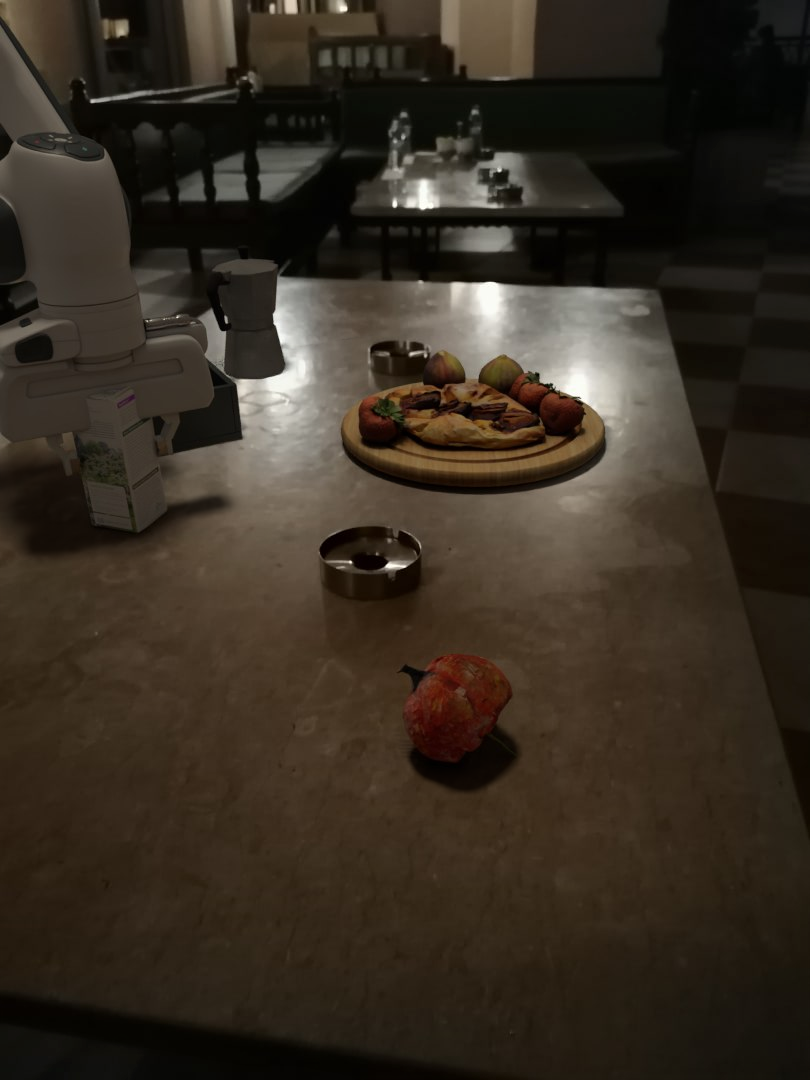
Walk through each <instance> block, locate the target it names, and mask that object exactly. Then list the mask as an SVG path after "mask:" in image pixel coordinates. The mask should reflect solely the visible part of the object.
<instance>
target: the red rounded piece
mask: <svg viewBox="0 0 810 1080" xmlns="http://www.w3.org/2000/svg"><path fill="white" fill-rule="evenodd" d="M399 673H404V674H407V675H408V676H409V677H410V680H411V687H410V690H409V695H408V697H407V699H406V700H405V702H404V704H403V709H402V719H403V724H404V728H405V731H406V733H407V735H408V737H409V739H410V741H411V743H412V744H413V746H414V747H415V748H417V750H418V751H419V752H420V753H421V754H422V755H423V756H425V757H426V758H428V759H431V760H433V761H438V762H445V763H452V764H453V763H454V764H456V763H459V762H460V761H461V759H463V758H464V757H465V755H466V753H471V752H474V751H475V750H476V749H478V748H479V747H480V746H481V744H482V742H483V740H484V738H485V737H487V738H488V740H490V741H492V742H494V743H496V744H498V745H499V746H500V747H502V748H503V749H504V750H506V751H507V752H508V753H509V754H510V755H512V756H513V757H514V758H515V757H517V756H518V754H517V753H515V752H514V751H512V750H511V749H510V748H509V746H507V745H506V744H505V743H504V742H503V741H501V739H499V738H497V737H496V735H493V734H492V733H491V732H492V731H493V729H494V728H495V726H496V725H497V722H498V720H499V716H500V715H501V713H502V712H503V710H504V709H505V708H506V706H507V705H508V704H509V702H510V700H511V699H512V698H513V696H514V695H513V688H512V686H511V683H510V680H509V679H508V678H507V677H506V675H505V674H504V672H503V671H502V670H501V669H500V668H499V667H498V666H497V665H495V664H494V663H492V661H490V660H489V659H486V658H485V657H483V656H481V657H480V656H479V655H474V654H473V655H472V654H471V655H470V654H462V653H448V654H443V655H440V656H437V658H434V659H433V660H432V661H431V662H430V663H429V664H428V665H427V666H426V668H425V669H424V670H422V669H417V668H415V667H412V666H409V665H408V663H406V662H405V663H404V664H403V665H402V666H401V667H400V668H399V669H398V670H397V671H396V674H399Z"/></svg>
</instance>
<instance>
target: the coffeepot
mask: <svg viewBox="0 0 810 1080" xmlns="http://www.w3.org/2000/svg"><path fill="white" fill-rule="evenodd" d="M237 251H238V255H239V258H237V259H233V260H229V261H226V262H223V263H219V264H217V265H216V266H215V267H214V268H212V269H211V274H210V275H209V277H208V280H207V283H206V285H205V294H206V297H207V300H208V301H209V305H210V306H211V309H212V310H211V311H212V313H213V315H214V318H215V321H216V324H217V326H218V328H219V330H220V332H225V341H224V342H225V343H224V345H225V346H224V362H223V373H226V374H227V375H228V374H229V375H228V376H229V377H232V376H233V377H232V378H236V379H242V380H258V379H265V378H271V377H274V376H276V375H279V374H280V373H282V372H283V371H284V370H285V366H286V359H285V356H284V353H283V348H282V344H281V340H280V336H279V333H278V329H277V328H278V327H277V325H276V324H275V320H274V314H275V312H276V308H277V307H276V306H277V294H278V293H277V292H278V291H277V290H278V276H279V275H278V274H279V264H277V263H275V260H272V259H271V260H270V259H260V258H258V259H257V258H250V257H249V253H250V246H248V245H245V244H241V245H239V246H238V247H237ZM226 320H227V322H226Z"/></svg>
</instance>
